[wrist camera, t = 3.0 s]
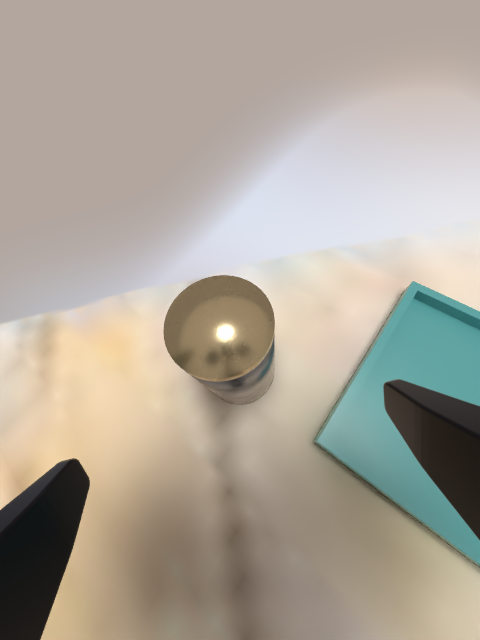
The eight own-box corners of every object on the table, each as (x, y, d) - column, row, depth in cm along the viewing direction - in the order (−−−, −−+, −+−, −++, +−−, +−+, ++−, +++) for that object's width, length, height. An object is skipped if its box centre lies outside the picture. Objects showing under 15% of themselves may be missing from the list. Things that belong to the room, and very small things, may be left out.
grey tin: (247, 419, 19) (226, 404, 11) (194, 376, 20) (141, 335, 12) (287, 361, 20) (297, 309, 12) (234, 326, 22) (211, 259, 14)
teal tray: (564, 631, 13) (598, 654, 12) (313, 441, 18) (316, 441, 16) (624, 396, 17) (655, 392, 15) (404, 291, 21) (413, 281, 20)
